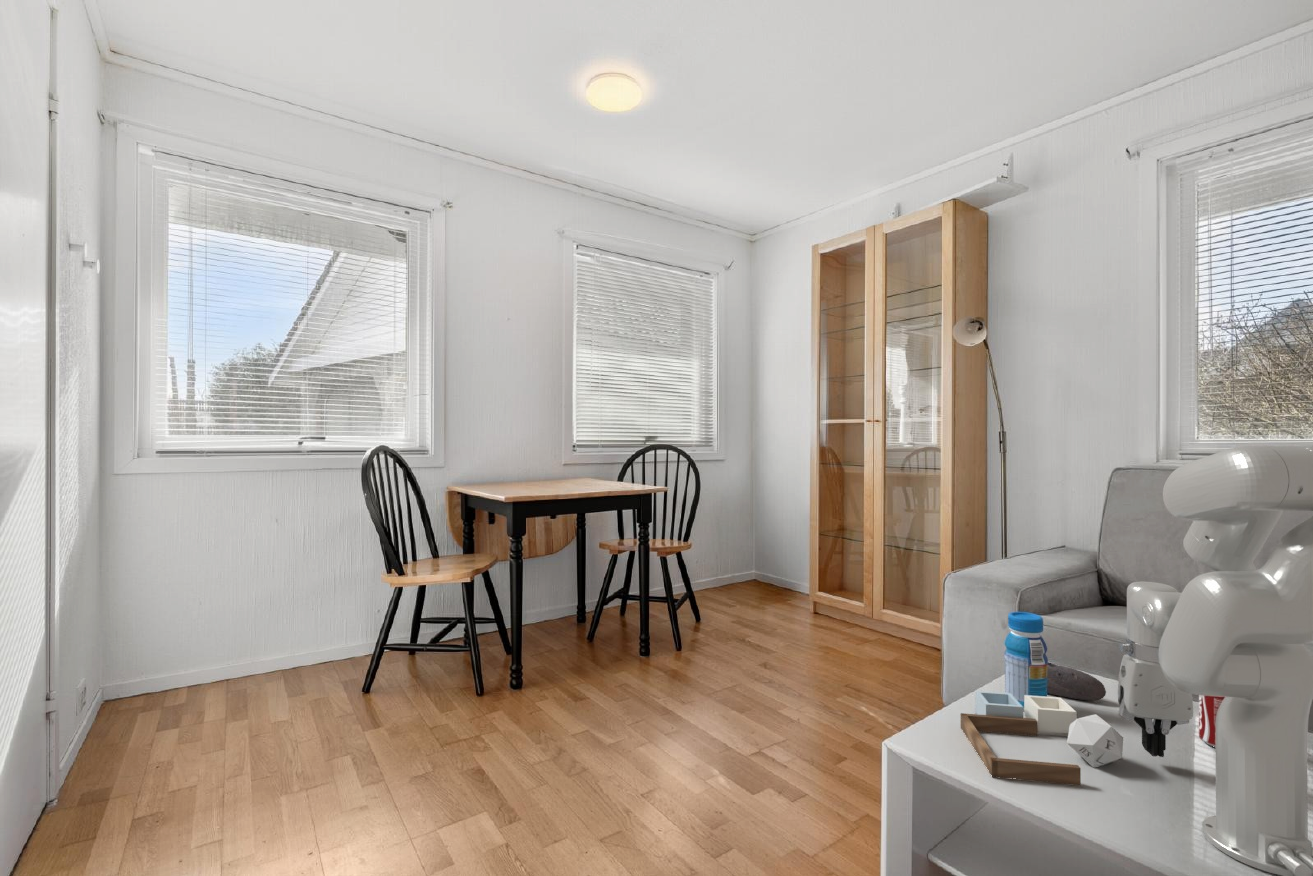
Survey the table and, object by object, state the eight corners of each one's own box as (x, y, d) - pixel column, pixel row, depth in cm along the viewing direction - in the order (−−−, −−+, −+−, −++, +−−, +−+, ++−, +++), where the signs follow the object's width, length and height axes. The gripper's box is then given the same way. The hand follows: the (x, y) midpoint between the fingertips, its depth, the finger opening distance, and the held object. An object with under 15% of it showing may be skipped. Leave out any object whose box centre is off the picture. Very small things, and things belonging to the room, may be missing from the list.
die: (1062, 765, 114) (1094, 737, 108) (1052, 724, 121) (1082, 697, 115) (1107, 784, 113) (1142, 758, 107) (1095, 742, 120) (1127, 715, 114)
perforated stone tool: (1107, 701, 140) (1106, 670, 140) (1105, 709, 136) (1105, 677, 136) (1030, 684, 150) (1030, 656, 150) (1026, 691, 146) (1026, 662, 146)
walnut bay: (1080, 785, 106) (1080, 768, 106) (991, 777, 109) (991, 760, 109) (1035, 733, 124) (1035, 719, 125) (960, 727, 127) (960, 713, 127)
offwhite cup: (1076, 737, 123) (1076, 712, 123) (1038, 734, 124) (1037, 709, 124) (1060, 721, 130) (1060, 697, 130) (1024, 718, 131) (1024, 695, 131)
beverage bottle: (1002, 707, 137) (1001, 616, 137) (1006, 694, 144) (1005, 608, 144) (1047, 716, 132) (1046, 623, 132) (1049, 702, 139) (1048, 614, 139)
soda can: (1255, 756, 116) (1255, 692, 116) (1214, 752, 117) (1213, 689, 117) (1230, 739, 122) (1229, 678, 122) (1190, 735, 123) (1190, 675, 124)
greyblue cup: (1023, 731, 125) (1023, 707, 125) (986, 728, 127) (986, 704, 127) (1010, 716, 132) (1010, 693, 132) (975, 714, 134) (975, 690, 134)
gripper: (1117, 656, 110) (1118, 759, 110) (1214, 662, 107) (1215, 768, 107) (1096, 642, 117) (1097, 739, 117) (1187, 647, 114) (1187, 747, 114)
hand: (1153, 752), depth 112 cm, fingers closed
